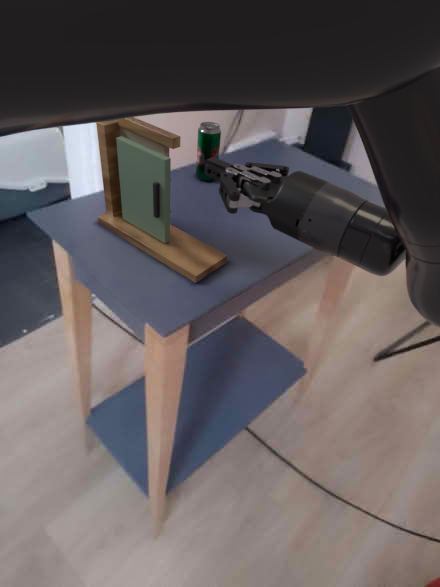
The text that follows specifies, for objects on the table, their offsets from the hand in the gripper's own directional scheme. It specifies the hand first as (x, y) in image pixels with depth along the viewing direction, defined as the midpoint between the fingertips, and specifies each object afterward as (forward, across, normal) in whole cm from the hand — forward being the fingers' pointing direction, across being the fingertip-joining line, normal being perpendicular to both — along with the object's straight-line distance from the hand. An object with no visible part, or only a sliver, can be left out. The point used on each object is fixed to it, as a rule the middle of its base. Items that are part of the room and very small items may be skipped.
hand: (207, 165), depth 54 cm
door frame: (+10, -1, +18) cm, 21 cm away
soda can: (+22, -28, +18) cm, 40 cm away
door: (+13, 0, +17) cm, 21 cm away
